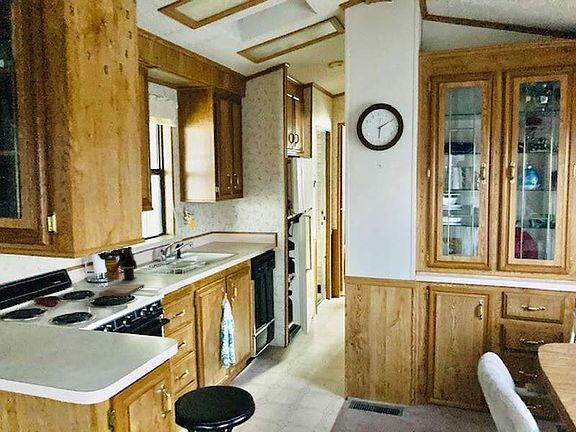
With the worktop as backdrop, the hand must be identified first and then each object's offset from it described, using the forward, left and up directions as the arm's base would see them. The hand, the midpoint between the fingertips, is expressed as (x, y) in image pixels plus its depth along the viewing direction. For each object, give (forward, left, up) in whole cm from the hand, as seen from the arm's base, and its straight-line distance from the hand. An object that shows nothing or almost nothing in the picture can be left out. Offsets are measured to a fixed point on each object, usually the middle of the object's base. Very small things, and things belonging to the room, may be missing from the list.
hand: (111, 267), depth 275 cm
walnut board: (-2, +4, -13) cm, 14 cm away
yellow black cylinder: (-1, -1, -7) cm, 7 cm away
